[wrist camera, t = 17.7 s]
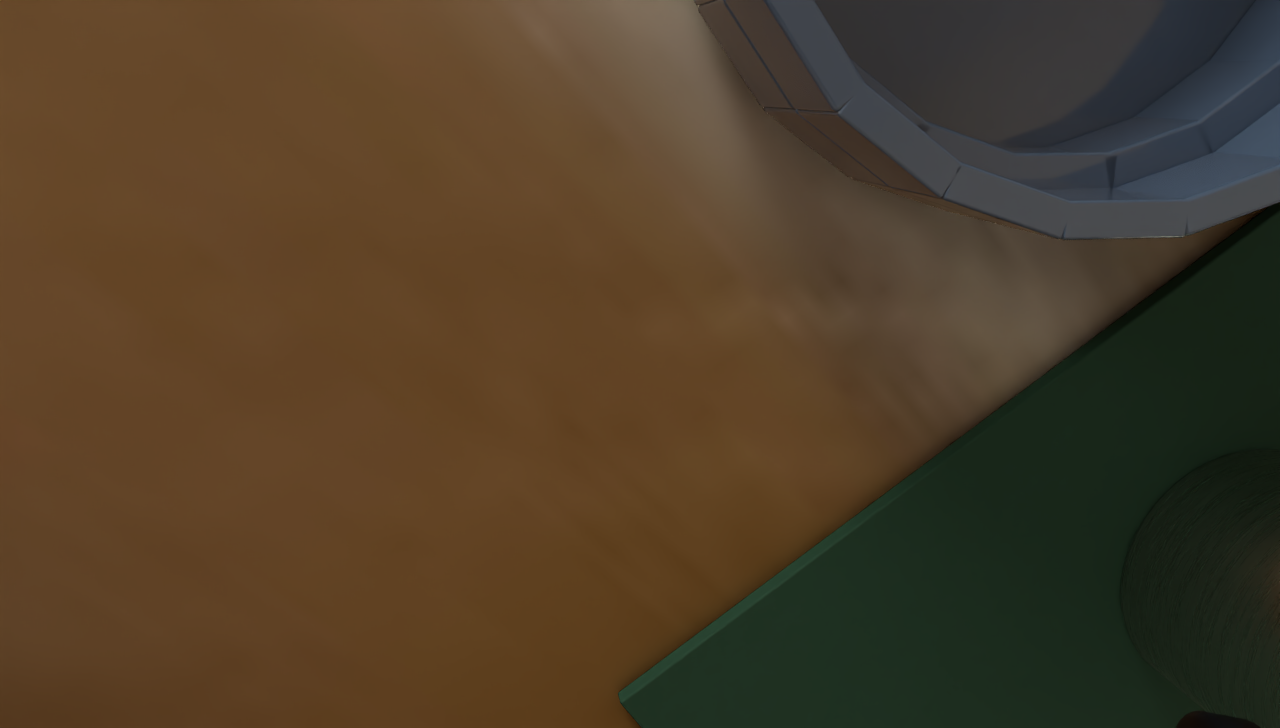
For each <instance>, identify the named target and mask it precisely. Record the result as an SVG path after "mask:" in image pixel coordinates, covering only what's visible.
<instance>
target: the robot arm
mask: <svg viewBox="0 0 1280 728" xmlns="http://www.w3.org/2000/svg"><path fill="white" fill-rule="evenodd" d="M1176 728H1261V727H1260V726H1258V725H1257V724H1255V723H1253V722H1251V721H1249V720H1246V719H1242V718H1237V717H1232V716H1227V715H1222V714H1216V713H1211V712H1206V711H1193V712H1190V713H1188V714H1186V715H1185V716H1184V717H1183V718H1181V719H1180V721H1179V723H1178V724H1177V726H1176Z"/></svg>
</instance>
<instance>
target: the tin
mask: <svg viewBox="0 0 1280 728" xmlns="http://www.w3.org/2000/svg"><path fill="white" fill-rule="evenodd" d="M1120 598H1121V610H1122V615H1123V619H1124V624H1125V626H1126V629H1127V632H1128V634H1129V637H1130V639H1131V641H1132V642H1133V644H1134V646H1135V648H1136V649H1137V651H1138V652H1139V653H1140V655H1141V656H1142V657H1143V658H1144V659H1145V661H1146V662H1148V663H1149V664H1150V665H1151V666H1152V667H1153V668H1154V669H1156V670H1157V671H1158V672H1159V673H1160V674H1162V675H1163V676H1164V677H1165V678H1166V679H1168V680H1169V681H1170V682H1171V683H1173V684H1174V685H1175V686H1176V687H1177V688H1179V689H1180V690H1181V691H1182V692H1183V693H1185V694H1186V695H1187V696H1188V697H1189V698H1191V699H1192V700H1193V701H1194V702H1195V703H1197V704H1198V705H1199V706H1200V707H1202V708H1203V709H1204V710H1205V711H1206V712H1211V713H1216V714H1222V715H1227V716H1232V717H1237V718H1242V719H1246V720H1249V721H1251V722H1253V723H1255V724H1257V725H1258V726H1260V727H1261V728H1280V450H1276V449H1252V450H1245V451H1239V452H1235V453H1231V454H1227V455H1224V456H1221V457H1219V458H1216V459H1214V460H1211V461H1209V462H1207V463H1205V464H1203V465H1202V466H1200V467H1198V468H1196V469H1194V470H1193V471H1191V472H1190V473H1188V474H1187V475H1186V476H1184V477H1183V478H1181V479H1180V480H1179V481H1178V482H1176V483H1175V484H1174V485H1173V486H1172V487H1171V488H1170V489H1168V490H1167V491H1166V492H1165V493H1164V495H1163V496H1162V497H1161V498H1160V499H1159V500H1158V501H1157V502H1156V503H1155V504H1154V506H1153V507H1152V508H1151V510H1150V511H1149V512H1148V514H1147V515H1146V517H1145V518H1144V520H1143V521H1142V523H1141V525H1140V526H1139V528H1138V530H1137V532H1136V533H1135V536H1134V538H1133V540H1132V542H1131V545H1130V547H1129V550H1128V553H1127V556H1126V559H1125V562H1124V567H1123V572H1122V578H1121V591H1120Z"/></svg>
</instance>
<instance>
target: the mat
mask: <svg viewBox="0 0 1280 728" xmlns="http://www.w3.org/2000/svg"><path fill="white" fill-rule="evenodd" d="M1252 449H1276V450H1280V202H1279V203H1276V204H1274V205H1271V206H1270V207H1268V208H1267V209H1266V210H1264V211H1263V212H1262V213H1260V214H1259V215H1258V216H1256V217H1255V218H1254V219H1252V220H1251V221H1250V222H1248V223H1247V224H1246V225H1244V226H1243V227H1242V228H1240V229H1239V230H1238V231H1236V232H1235V233H1234V234H1232V235H1231V236H1230V237H1228V238H1227V239H1226V240H1224V241H1223V242H1222V243H1220V244H1219V245H1218V246H1216V247H1215V248H1214V249H1212V250H1211V251H1210V252H1208V253H1207V254H1206V255H1204V256H1203V257H1201V258H1200V259H1199V260H1197V261H1196V262H1195V263H1193V264H1192V265H1191V266H1189V267H1188V268H1187V269H1185V270H1184V271H1183V272H1181V273H1180V274H1179V275H1177V276H1176V277H1175V278H1173V279H1172V280H1171V281H1169V282H1168V283H1167V284H1165V285H1164V286H1163V287H1161V288H1160V289H1159V290H1157V291H1156V292H1155V293H1153V294H1152V295H1151V296H1149V297H1148V298H1147V299H1145V300H1144V301H1143V302H1141V303H1140V304H1139V305H1137V306H1136V307H1134V308H1133V309H1132V310H1130V311H1129V312H1128V313H1126V314H1125V315H1124V316H1122V317H1121V318H1120V319H1118V320H1117V321H1116V322H1114V323H1113V324H1112V325H1110V326H1109V327H1108V328H1106V329H1105V330H1104V331H1102V332H1101V333H1100V334H1098V335H1097V336H1096V337H1094V338H1093V339H1092V340H1090V341H1089V342H1088V343H1086V344H1085V345H1084V346H1082V347H1081V348H1080V349H1078V350H1077V351H1076V352H1074V353H1073V354H1072V355H1070V356H1069V357H1068V358H1066V359H1065V360H1063V361H1062V362H1061V363H1059V364H1058V365H1057V366H1055V367H1054V368H1053V369H1051V370H1050V371H1049V372H1047V373H1046V374H1045V375H1043V376H1042V377H1041V378H1039V379H1038V380H1037V381H1035V382H1034V383H1033V384H1031V385H1030V386H1029V387H1027V388H1026V389H1025V390H1023V391H1022V392H1021V393H1019V394H1018V395H1017V396H1015V397H1014V398H1013V399H1011V400H1010V401H1009V402H1007V403H1006V404H1005V405H1003V406H1002V407H1001V408H999V409H998V410H997V411H995V412H994V413H992V414H991V415H990V416H988V417H987V418H986V419H984V420H983V421H982V422H980V423H979V424H978V425H976V426H975V427H974V428H972V429H971V430H970V431H968V432H967V433H966V434H964V435H963V436H962V437H960V438H959V439H958V440H956V441H955V442H954V443H952V444H951V445H950V446H948V447H947V448H946V449H944V450H943V451H942V452H940V453H939V454H938V455H936V456H935V457H934V458H932V459H931V460H930V461H928V462H927V463H926V464H924V465H923V466H921V467H920V468H919V469H917V470H916V471H915V472H913V473H912V474H911V475H909V476H908V477H907V478H905V479H904V480H903V481H901V482H900V483H899V484H897V485H896V486H895V487H893V488H892V489H891V490H889V491H888V492H887V493H885V494H884V495H883V496H881V497H880V498H879V499H877V500H876V501H875V502H873V503H872V504H871V505H869V506H868V507H867V508H865V509H864V510H863V511H861V512H860V513H859V514H857V515H856V516H854V517H853V518H852V519H850V520H849V521H848V522H846V523H845V524H844V525H842V526H841V527H840V528H838V529H837V530H836V531H834V532H833V533H832V534H830V535H829V536H828V537H826V538H825V539H824V540H822V541H821V542H820V543H818V544H817V545H816V546H814V547H813V548H812V549H810V550H809V551H808V552H806V553H805V554H804V555H802V556H801V557H800V558H798V559H797V560H796V561H794V562H793V563H792V564H790V565H789V566H788V567H786V568H785V569H783V570H782V571H781V572H779V573H778V574H777V575H775V576H774V577H773V578H771V579H770V580H769V581H767V582H766V583H765V584H763V585H762V586H761V587H759V588H758V589H757V590H755V591H754V592H753V593H751V594H750V595H749V596H747V597H746V598H745V599H743V600H742V601H741V602H739V603H738V604H737V605H735V606H734V607H733V608H731V609H730V610H729V611H727V612H726V613H725V614H723V615H722V616H721V617H719V618H718V619H717V620H715V621H714V622H712V623H711V624H710V625H708V626H707V627H706V628H704V629H703V630H702V631H700V632H699V633H698V634H696V635H695V636H694V637H692V638H691V639H690V640H688V641H687V642H686V643H684V644H683V645H682V646H680V647H679V648H678V649H676V650H675V651H674V652H672V653H671V654H670V655H668V656H667V657H666V658H664V659H663V660H662V661H660V662H659V663H658V664H656V665H655V666H654V667H652V668H651V669H650V670H648V671H647V672H646V673H644V674H643V675H641V676H640V677H639V678H637V679H636V680H635V681H633V682H632V683H631V684H629V685H628V686H627V687H625V688H624V689H623V690H621V691H620V692H619V693H618V695H619V699H620V703H621V704H622V706H623V707H624V708H625V709H626V710H627V711H628V713H629V714H630V715H631V716H632V717H633V718H634V719H635V721H636V722H637V723H638V724H639V725H640V726H641V727H642V728H1176V726H1177V724H1178V723H1179V721H1180V719H1181V718H1183V717H1184V716H1185V715H1186V714H1188V713H1190V712H1193V711H1205V710H1204V709H1203V708H1202V707H1200V706H1199V705H1198V704H1197V703H1195V702H1194V701H1193V700H1192V699H1191V698H1189V697H1188V696H1187V695H1186V694H1185V693H1183V692H1182V691H1181V690H1180V689H1179V688H1177V687H1176V686H1175V685H1174V684H1173V683H1171V682H1170V681H1169V680H1168V679H1166V678H1165V677H1164V676H1163V675H1162V674H1160V673H1159V672H1158V671H1157V670H1156V669H1154V668H1153V667H1152V666H1151V665H1150V664H1149V663H1148V662H1146V661H1145V659H1144V658H1143V657H1142V656H1141V655H1140V653H1139V652H1138V651H1137V649H1136V648H1135V646H1134V644H1133V642H1132V641H1131V639H1130V637H1129V634H1128V632H1127V629H1126V626H1125V624H1124V619H1123V615H1122V610H1121V598H1120V591H1121V578H1122V572H1123V567H1124V562H1125V559H1126V556H1127V553H1128V550H1129V547H1130V545H1131V542H1132V540H1133V538H1134V536H1135V533H1136V532H1137V530H1138V528H1139V526H1140V525H1141V523H1142V521H1143V520H1144V518H1145V517H1146V515H1147V514H1148V512H1149V511H1150V510H1151V508H1152V507H1153V506H1154V504H1155V503H1156V502H1157V501H1158V500H1159V499H1160V498H1161V497H1162V496H1163V495H1164V493H1165V492H1166V491H1167V490H1168V489H1170V488H1171V487H1172V486H1173V485H1174V484H1175V483H1176V482H1178V481H1179V480H1180V479H1181V478H1183V477H1184V476H1186V475H1187V474H1188V473H1190V472H1191V471H1193V470H1194V469H1196V468H1198V467H1200V466H1202V465H1203V464H1205V463H1207V462H1209V461H1211V460H1214V459H1216V458H1219V457H1221V456H1224V455H1227V454H1231V453H1235V452H1239V451H1245V450H1252Z"/></svg>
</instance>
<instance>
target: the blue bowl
mask: <svg viewBox="0 0 1280 728" xmlns="http://www.w3.org/2000/svg"><path fill="white" fill-rule="evenodd" d="M694 2H695V3H696V5H699V7H698V10H699V13H700V14H701V16H702V17H703V19H704V20H705V22H706V23H707V25H708V26H709V28H710V29H711V31H712V33H713V34H714V36H715V37H716V39H717V40H718V42H719V43H720V45H721V46H722V48H723V49H724V51H725V52H726V54H727V55H728V57H729V59H730V60H731V62H732V63H733V65H734V66H735V68H736V69H737V71H738V72H739V74H740V75H741V77H742V78H743V80H744V81H745V83H746V85H747V86H748V88H749V89H750V91H751V92H752V94H753V95H754V97H755V98H756V100H757V101H758V103H759V104H760V105H761V106H762V107H764V111H765V112H766V113H768V114H769V115H770V116H771V117H773V118H774V119H775V120H776V121H778V122H779V123H780V124H782V125H783V126H784V127H785V128H787V129H788V130H789V131H790V132H792V133H793V134H794V135H795V136H797V137H798V138H799V139H801V140H802V141H803V142H804V143H806V144H807V145H808V146H809V147H811V148H812V149H813V150H814V151H816V152H817V153H818V154H820V155H821V156H822V157H823V158H825V159H826V160H827V161H828V162H830V163H831V164H832V165H833V166H835V167H836V168H837V169H839V170H840V171H841V172H842V173H844V174H845V175H846V176H847V177H851V178H852V179H853V180H855V181H858V182H861V183H864V184H867V185H870V186H873V187H876V188H879V189H882V190H885V191H888V192H891V193H894V194H897V195H900V196H903V197H906V198H909V199H911V200H914V201H917V202H920V203H923V204H926V205H929V206H932V207H935V208H938V209H941V210H944V211H947V212H951V213H955V214H959V215H963V216H967V217H971V218H975V219H979V220H983V221H987V222H991V223H996V224H999V225H1003V226H1007V227H1011V228H1015V229H1019V230H1023V231H1027V232H1031V233H1035V234H1039V235H1043V236H1047V237H1051V238H1055V239H1061V240H1092V239H1138V238H1182V237H1184V236H1189V235H1191V234H1194V233H1197V232H1199V231H1202V230H1205V229H1208V228H1210V227H1213V226H1216V225H1219V224H1221V223H1224V222H1227V221H1230V220H1232V219H1235V218H1238V217H1241V216H1243V215H1246V214H1249V213H1252V212H1254V211H1257V210H1260V209H1263V208H1265V207H1268V206H1271V205H1274V204H1276V203H1279V202H1280V0H694Z"/></svg>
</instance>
